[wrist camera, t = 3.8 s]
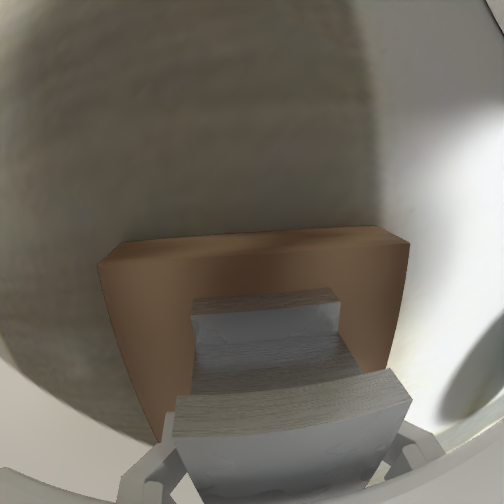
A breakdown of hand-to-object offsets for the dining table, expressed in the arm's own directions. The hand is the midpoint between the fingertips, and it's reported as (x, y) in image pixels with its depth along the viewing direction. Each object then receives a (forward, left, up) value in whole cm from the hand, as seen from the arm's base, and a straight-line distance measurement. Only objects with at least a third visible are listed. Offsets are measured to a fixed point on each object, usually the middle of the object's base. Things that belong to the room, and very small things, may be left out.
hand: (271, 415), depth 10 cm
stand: (0, 0, -5) cm, 5 cm away
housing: (0, 0, -2) cm, 2 cm away
